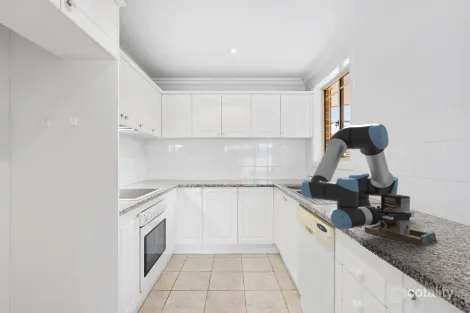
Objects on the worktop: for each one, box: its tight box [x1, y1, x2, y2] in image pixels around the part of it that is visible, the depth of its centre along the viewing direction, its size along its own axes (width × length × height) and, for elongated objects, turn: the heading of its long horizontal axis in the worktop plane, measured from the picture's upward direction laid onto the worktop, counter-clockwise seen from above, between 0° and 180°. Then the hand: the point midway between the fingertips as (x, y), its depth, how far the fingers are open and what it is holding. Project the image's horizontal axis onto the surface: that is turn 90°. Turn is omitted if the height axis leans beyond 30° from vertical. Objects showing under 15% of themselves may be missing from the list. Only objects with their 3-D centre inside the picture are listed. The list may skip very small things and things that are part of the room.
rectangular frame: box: [364, 222, 437, 246], centre depth 110 cm, size 13×22×3 cm, turn 34°
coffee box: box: [380, 194, 411, 236], centre depth 111 cm, size 9×6×16 cm
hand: (401, 211), depth 113 cm, fingers closed on coffee box, 9 cm apart
